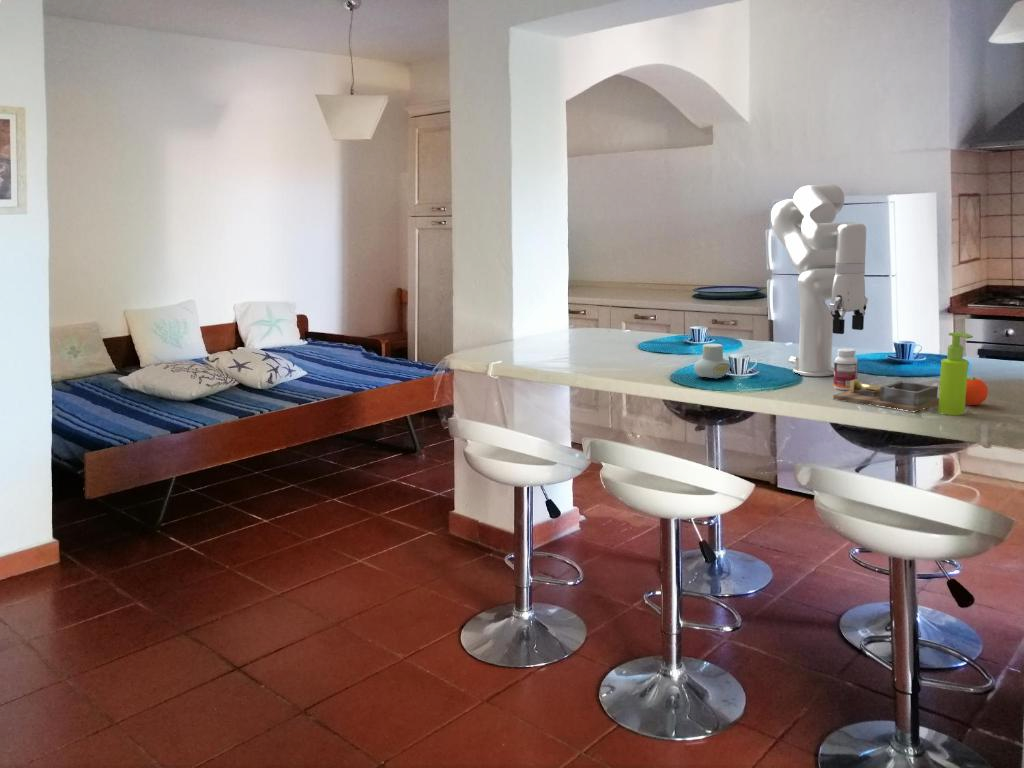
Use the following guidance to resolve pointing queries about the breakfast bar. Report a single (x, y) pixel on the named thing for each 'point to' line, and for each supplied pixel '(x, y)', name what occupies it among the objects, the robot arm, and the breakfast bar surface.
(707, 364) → the air freshener
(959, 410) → the soap dispenser
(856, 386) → the lock pin
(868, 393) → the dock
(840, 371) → the pill bottle
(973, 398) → the clementine
